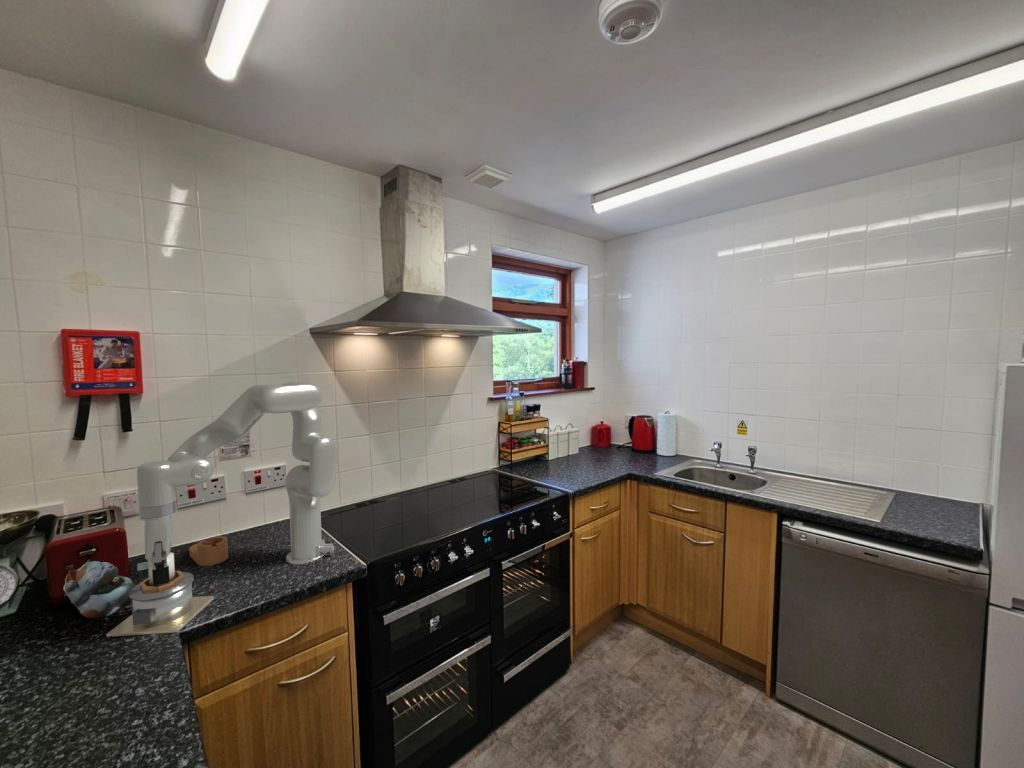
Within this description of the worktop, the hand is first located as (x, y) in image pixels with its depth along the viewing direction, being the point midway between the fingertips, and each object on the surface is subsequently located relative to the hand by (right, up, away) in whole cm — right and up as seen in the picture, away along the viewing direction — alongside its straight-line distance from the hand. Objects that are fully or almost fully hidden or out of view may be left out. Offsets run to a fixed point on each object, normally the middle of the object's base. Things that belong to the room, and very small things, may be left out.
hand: (162, 577), depth 110 cm
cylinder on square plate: (0, -11, +1) cm, 11 cm away
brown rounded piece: (-13, -9, +36) cm, 39 cm away
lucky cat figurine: (-21, -11, +5) cm, 24 cm away
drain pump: (0, 0, 0) cm, 0 cm away
